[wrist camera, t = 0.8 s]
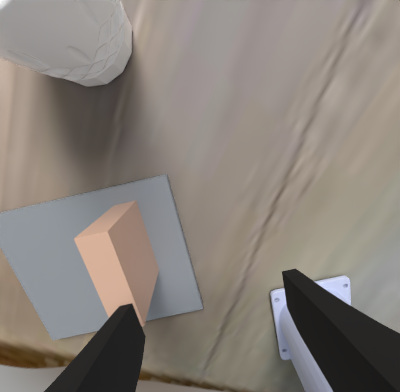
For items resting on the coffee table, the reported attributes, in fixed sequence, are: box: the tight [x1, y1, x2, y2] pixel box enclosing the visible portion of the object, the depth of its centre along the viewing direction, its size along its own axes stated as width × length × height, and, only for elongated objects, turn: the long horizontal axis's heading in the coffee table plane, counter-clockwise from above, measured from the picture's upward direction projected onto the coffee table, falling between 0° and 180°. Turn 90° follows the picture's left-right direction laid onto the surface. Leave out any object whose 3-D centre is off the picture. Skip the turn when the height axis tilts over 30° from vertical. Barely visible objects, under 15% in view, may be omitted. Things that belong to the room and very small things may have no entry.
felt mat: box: [0, 174, 203, 340], centre depth 19 cm, size 14×16×1 cm
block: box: [74, 200, 159, 326], centre depth 15 cm, size 7×2×6 cm, turn 13°
